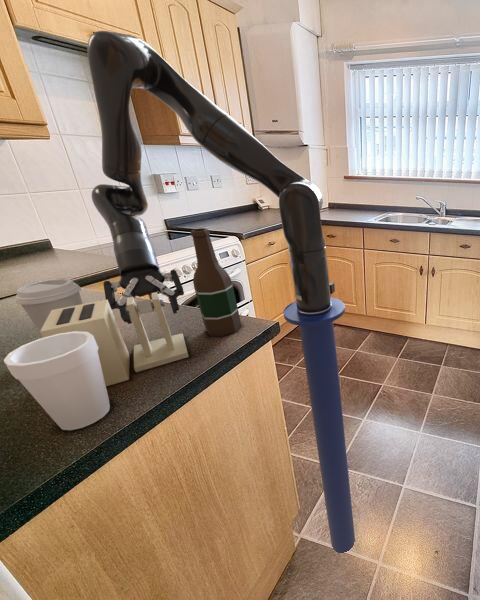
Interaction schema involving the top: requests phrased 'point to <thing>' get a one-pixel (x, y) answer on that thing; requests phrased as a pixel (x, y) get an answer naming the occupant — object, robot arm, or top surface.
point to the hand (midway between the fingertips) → (153, 317)
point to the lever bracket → (158, 349)
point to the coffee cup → (47, 298)
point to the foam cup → (63, 377)
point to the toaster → (104, 330)
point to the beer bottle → (213, 288)
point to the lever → (145, 306)
